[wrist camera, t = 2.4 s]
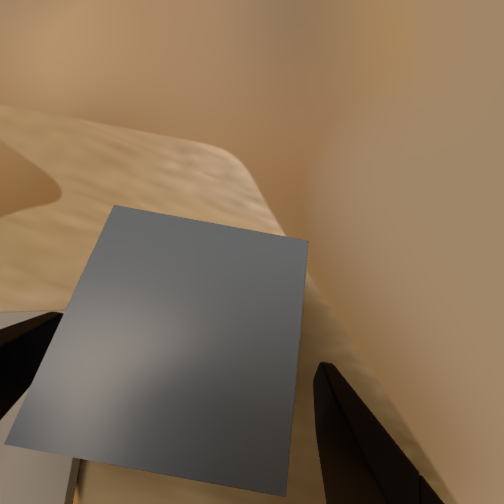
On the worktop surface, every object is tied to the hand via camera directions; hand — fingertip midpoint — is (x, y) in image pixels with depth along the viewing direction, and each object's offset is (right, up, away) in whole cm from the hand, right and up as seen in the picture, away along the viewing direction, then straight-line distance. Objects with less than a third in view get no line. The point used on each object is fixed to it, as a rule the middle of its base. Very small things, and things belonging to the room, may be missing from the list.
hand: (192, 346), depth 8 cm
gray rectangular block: (0, -2, +7) cm, 8 cm away
